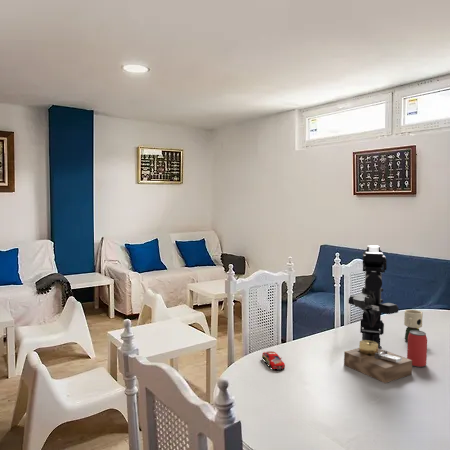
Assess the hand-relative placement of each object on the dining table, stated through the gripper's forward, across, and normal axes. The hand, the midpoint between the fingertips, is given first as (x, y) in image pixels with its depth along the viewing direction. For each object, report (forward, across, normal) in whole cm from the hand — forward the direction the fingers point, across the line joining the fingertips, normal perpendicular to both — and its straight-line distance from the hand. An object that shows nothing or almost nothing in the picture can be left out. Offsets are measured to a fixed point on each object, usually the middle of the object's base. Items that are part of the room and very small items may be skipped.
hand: (371, 326), depth 161 cm
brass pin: (+13, +3, -5) cm, 14 cm away
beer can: (+13, +11, +12) cm, 21 cm away
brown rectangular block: (+13, +7, -5) cm, 16 cm away
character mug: (+13, -6, +34) cm, 37 cm away
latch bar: (+8, +12, -5) cm, 15 cm away
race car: (+14, -16, -34) cm, 40 cm away
